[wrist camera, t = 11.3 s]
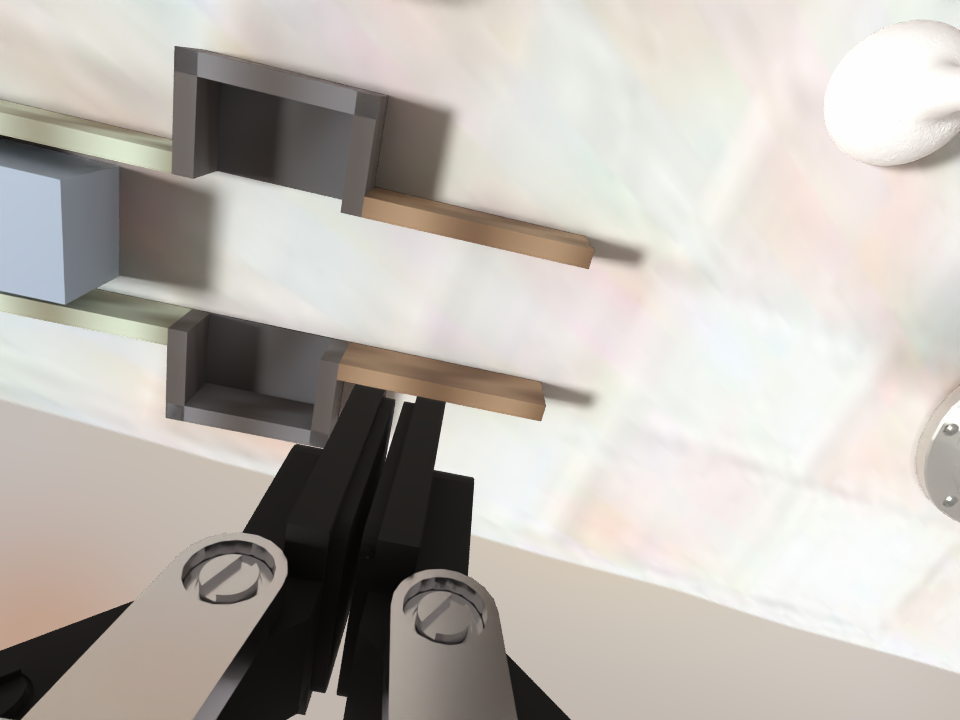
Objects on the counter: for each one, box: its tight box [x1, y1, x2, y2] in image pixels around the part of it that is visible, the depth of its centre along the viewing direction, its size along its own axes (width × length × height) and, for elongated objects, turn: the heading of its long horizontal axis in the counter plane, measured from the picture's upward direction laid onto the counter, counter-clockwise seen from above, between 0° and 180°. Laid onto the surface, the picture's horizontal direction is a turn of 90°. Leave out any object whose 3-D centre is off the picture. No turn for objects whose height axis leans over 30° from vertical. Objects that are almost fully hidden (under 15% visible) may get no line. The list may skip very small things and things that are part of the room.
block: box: [0, 138, 119, 305], centre depth 30 cm, size 6×6×5 cm
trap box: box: [0, 46, 594, 448], centre depth 31 cm, size 33×19×5 cm, turn 77°
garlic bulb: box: [824, 20, 960, 166], centre depth 27 cm, size 6×6×8 cm
